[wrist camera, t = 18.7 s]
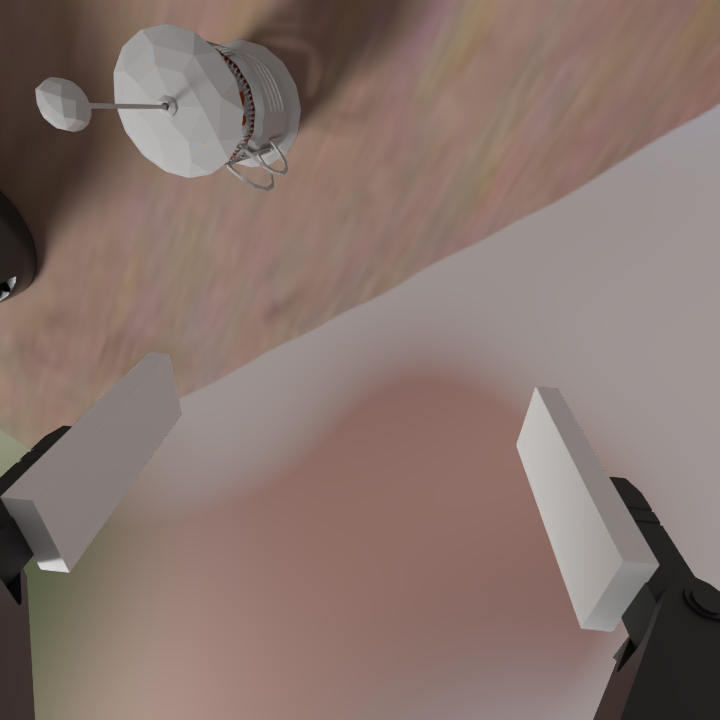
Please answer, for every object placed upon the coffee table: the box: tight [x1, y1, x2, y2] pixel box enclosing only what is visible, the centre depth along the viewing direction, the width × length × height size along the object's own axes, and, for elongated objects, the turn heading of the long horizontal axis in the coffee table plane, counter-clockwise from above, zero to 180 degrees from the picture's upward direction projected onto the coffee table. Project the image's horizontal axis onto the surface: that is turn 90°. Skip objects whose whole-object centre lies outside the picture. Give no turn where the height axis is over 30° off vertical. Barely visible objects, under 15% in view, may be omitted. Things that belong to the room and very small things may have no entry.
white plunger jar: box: [35, 24, 301, 191], centre depth 27 cm, size 10×12×25 cm
